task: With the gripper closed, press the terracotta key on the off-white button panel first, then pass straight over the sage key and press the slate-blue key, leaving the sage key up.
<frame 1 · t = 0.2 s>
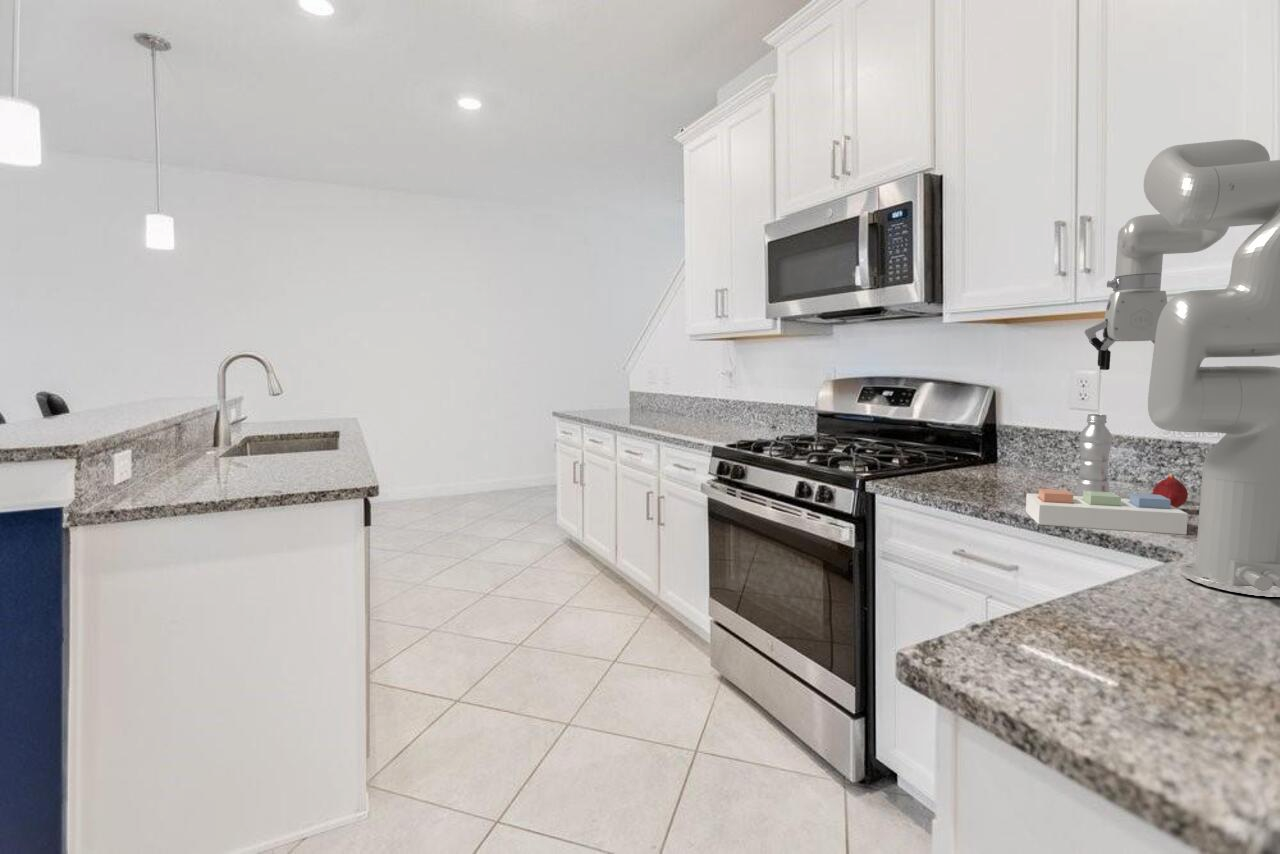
hand: (1131, 369, 133), 31 cm above the counter, tool pointing down, fingers open, 9 cm apart
slate key: (1149, 504, 127), point 4 cm above the counter, slide at 0.0 cm
plastic bottle: (1091, 500, 151), on the counter
button panel: (1099, 522, 130), on the counter
sage key: (1101, 501, 129), point 4 cm above the counter, slide at 0.0 cm
terracotta key: (1055, 499, 132), point 4 cm above the counter, slide at 0.0 cm
onion: (1168, 511, 139), on the counter
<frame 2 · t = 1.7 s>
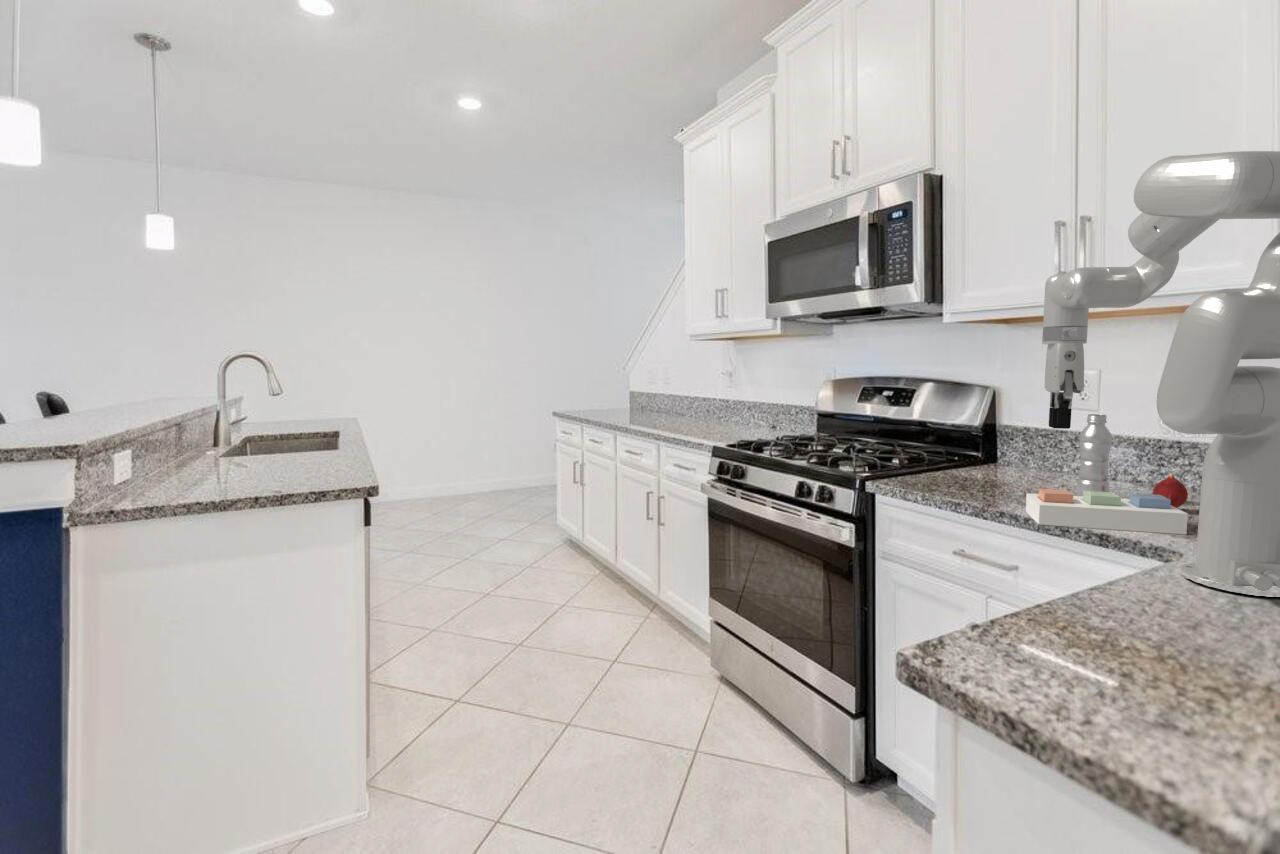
hand: (1059, 427, 131), 19 cm above the counter, tool pointing down, fingers closed
nothing on the counter moved.
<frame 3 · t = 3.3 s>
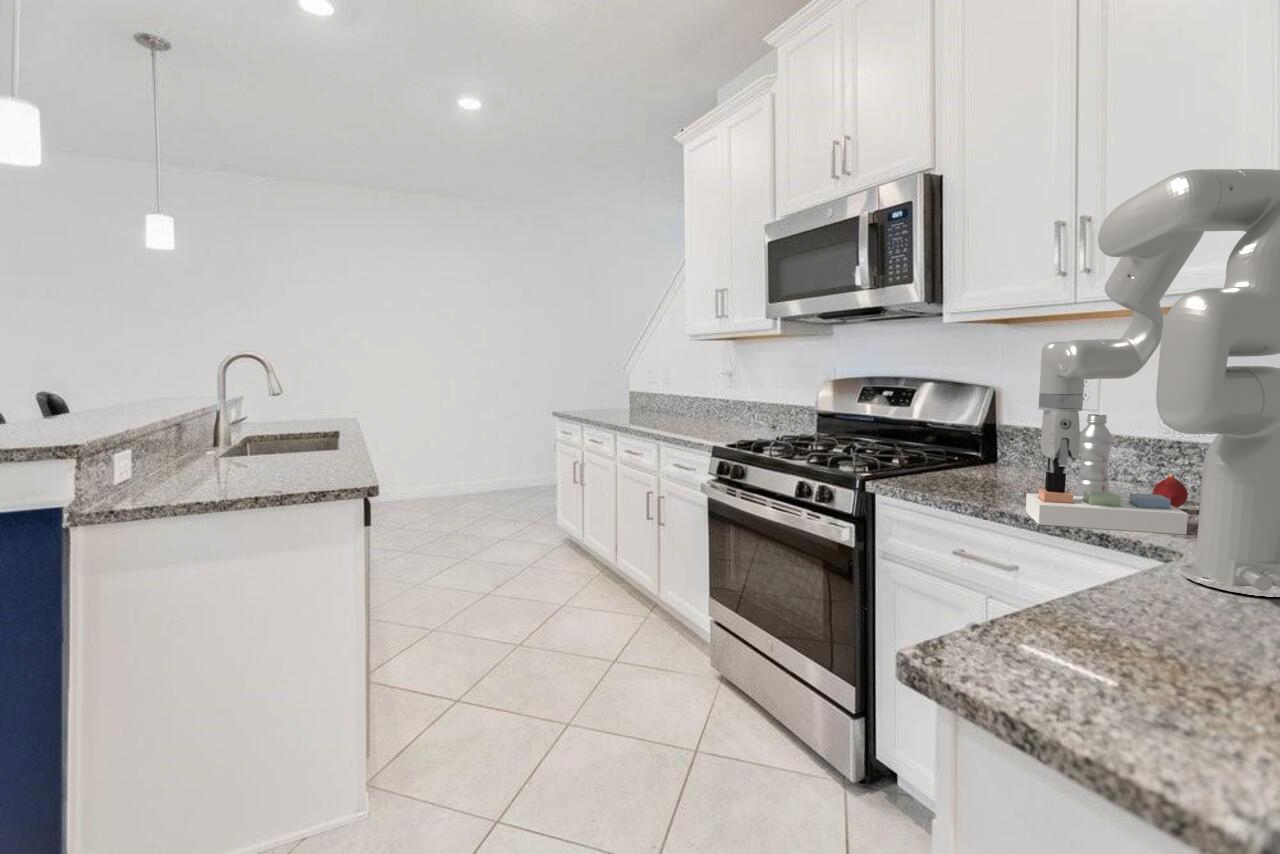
hand: (1054, 491, 132), 6 cm above the counter, tool pointing down, fingers closed
terracotta key: (1055, 499, 132), point 4 cm above the counter, slide at 0.0 cm, touching gripper
everything else where it was.
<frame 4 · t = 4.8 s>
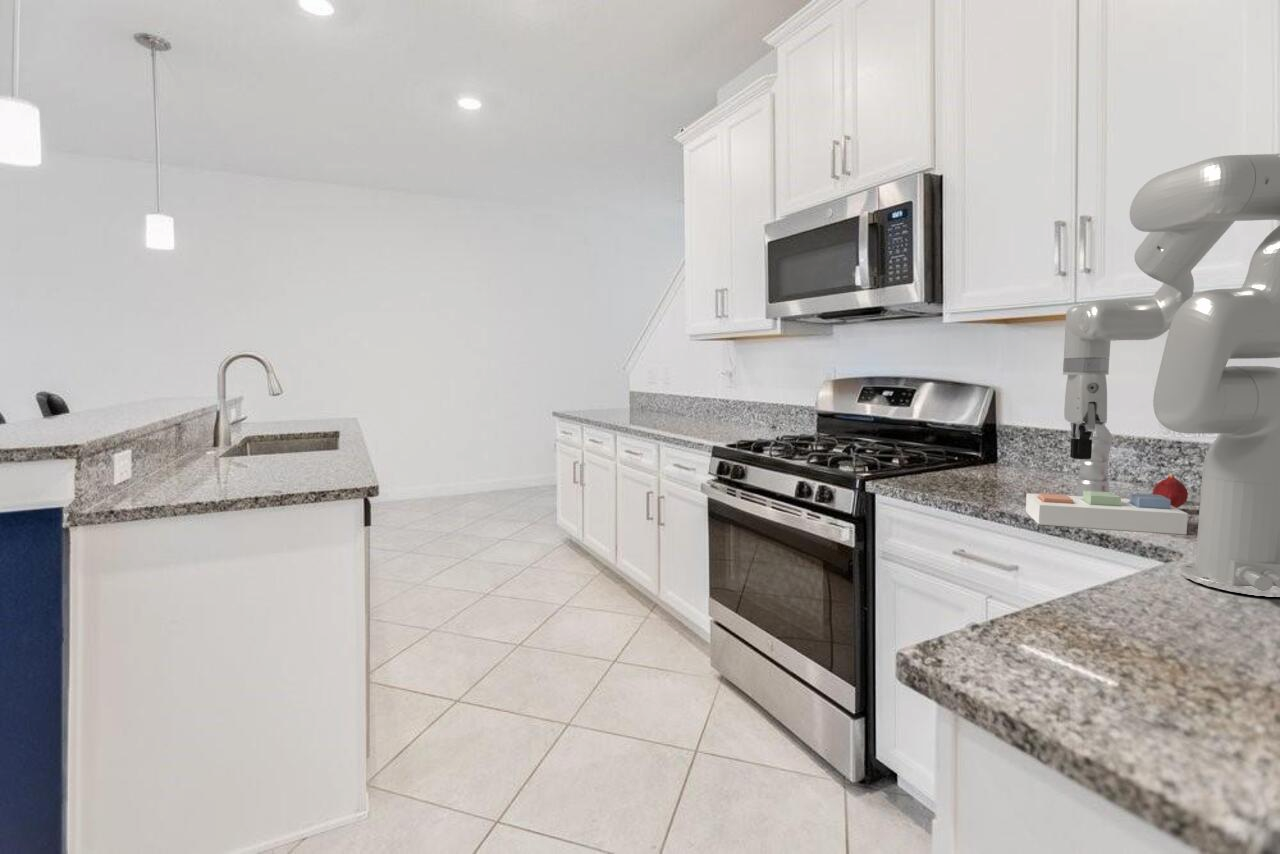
hand: (1080, 458, 130), 13 cm above the counter, tool pointing down, fingers closed
terracotta key: (1054, 504, 132), point 3 cm above the counter, slide at 1.0 cm
everything else where it was.
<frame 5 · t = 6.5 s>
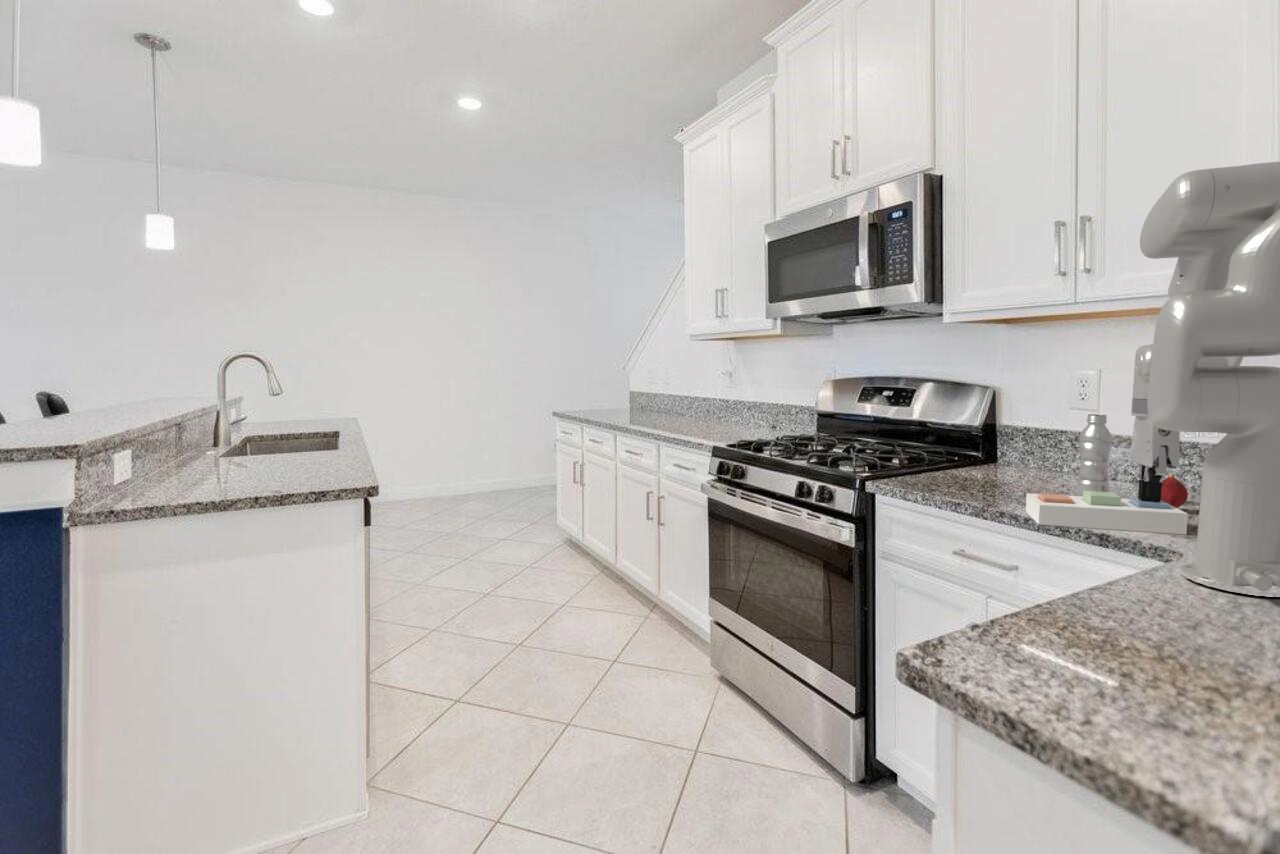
hand: (1149, 500, 127), 5 cm above the counter, tool pointing down, fingers closed
slate key: (1148, 509, 127), point 3 cm above the counter, slide at 1.0 cm
everything else where it was.
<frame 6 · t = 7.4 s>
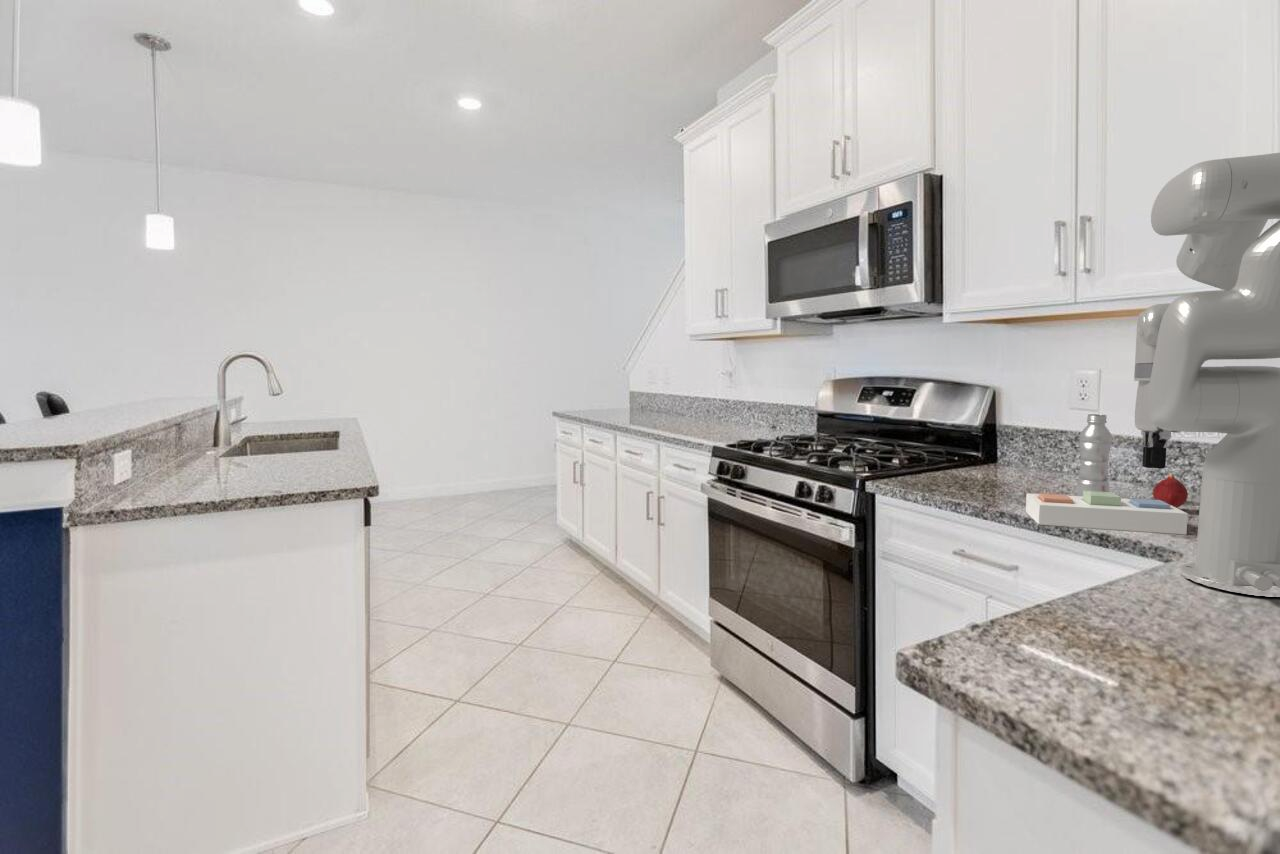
hand: (1153, 467, 125), 12 cm above the counter, tool pointing down, fingers closed
nothing on the counter moved.
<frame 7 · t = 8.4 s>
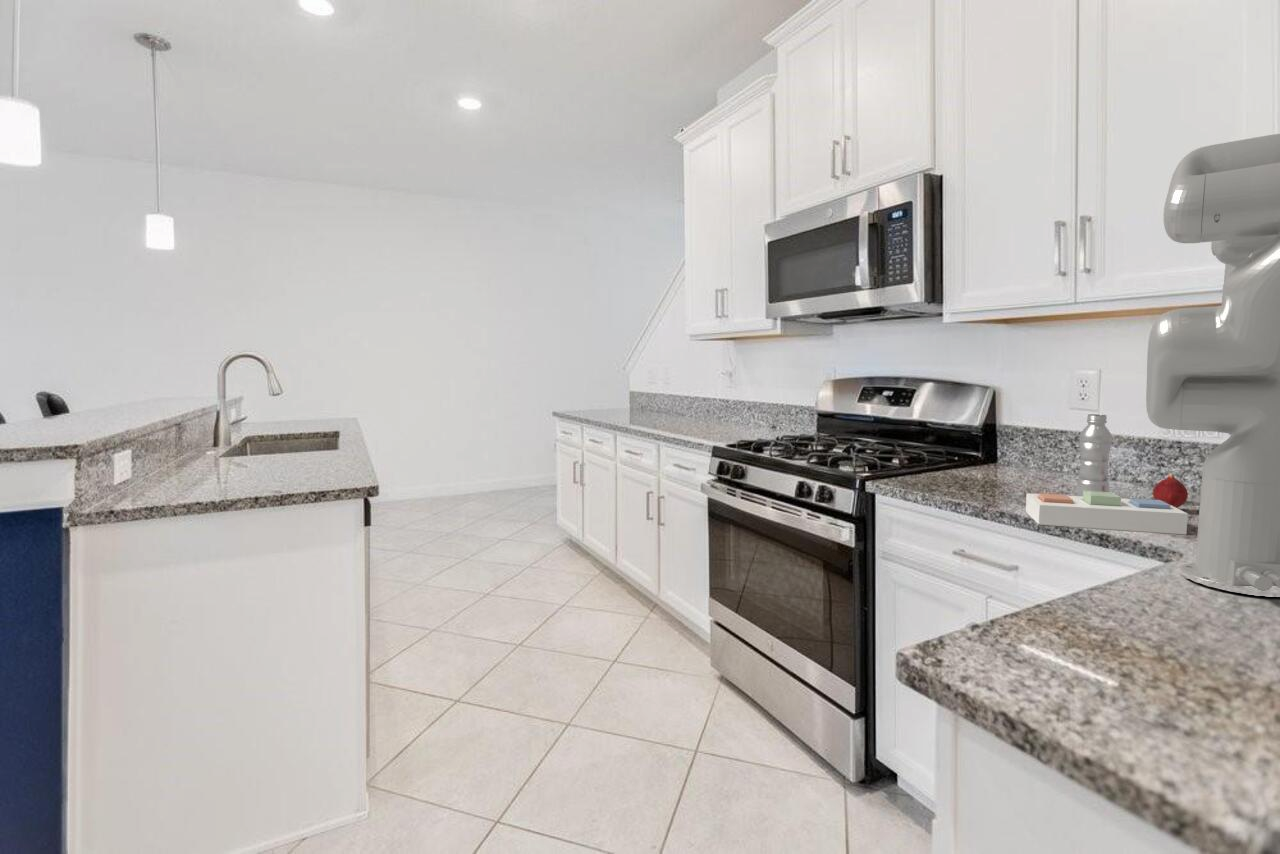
hand: (1243, 404, 112), 25 cm above the counter, tool pointing down, fingers closed
nothing on the counter moved.
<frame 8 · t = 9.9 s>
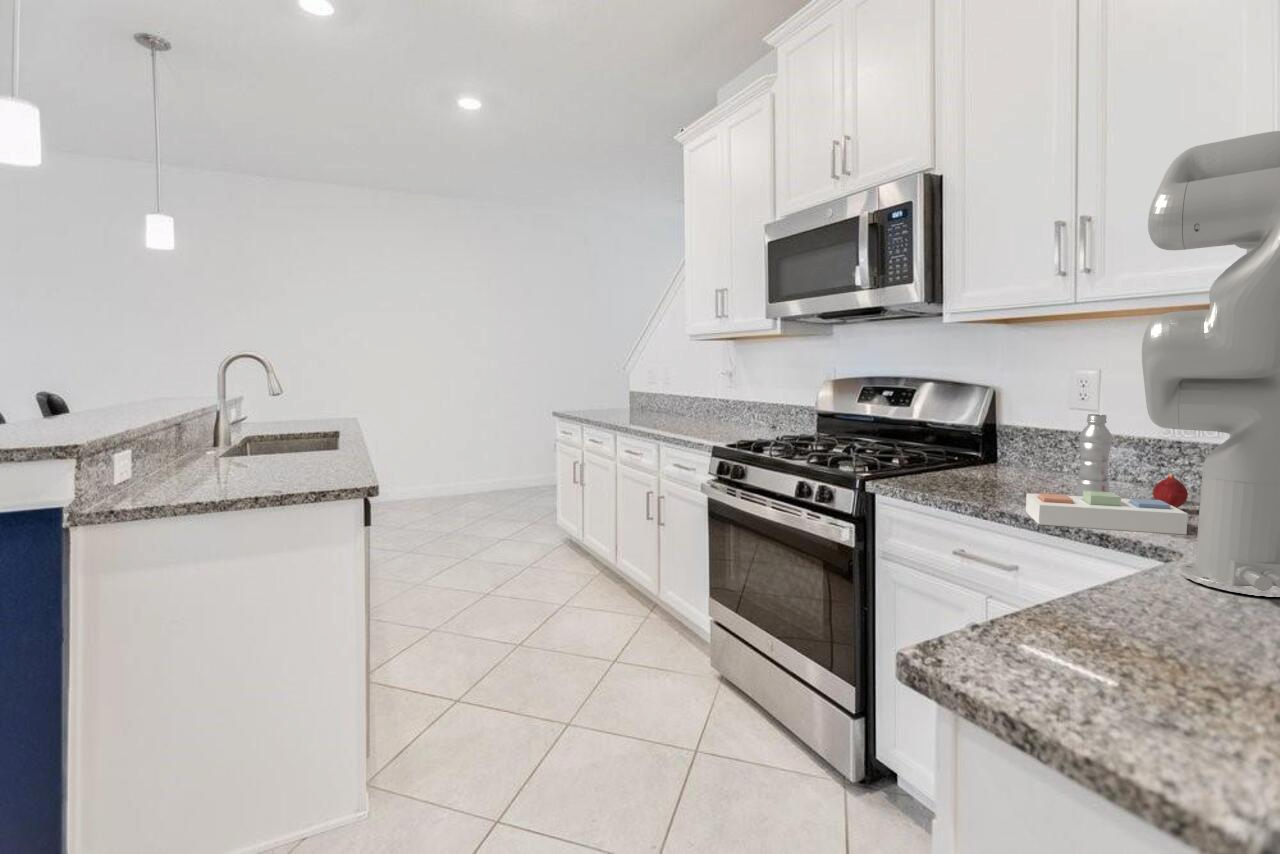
hand: (1264, 391, 109), 27 cm above the counter, tool pointing down, fingers closed
nothing on the counter moved.
at the end: terracotta key slide at 1.0 cm; slate key slide at 1.0 cm; sage key slide at 0.0 cm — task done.
